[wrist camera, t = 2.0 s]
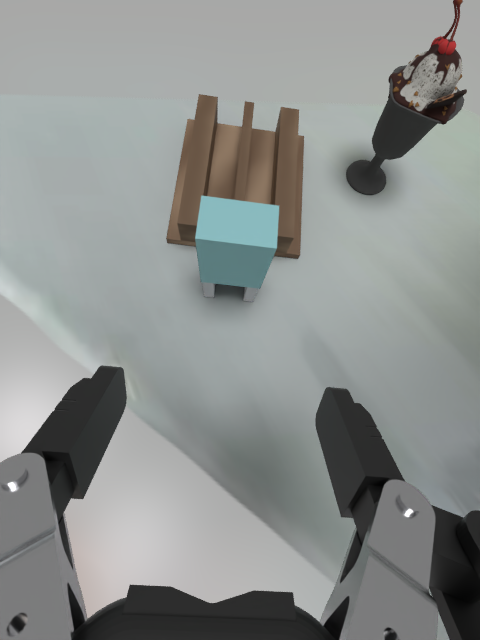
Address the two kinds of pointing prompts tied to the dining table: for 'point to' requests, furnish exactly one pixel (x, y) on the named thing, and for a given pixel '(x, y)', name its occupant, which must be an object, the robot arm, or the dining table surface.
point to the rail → (240, 171)
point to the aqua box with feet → (235, 243)
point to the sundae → (413, 108)
